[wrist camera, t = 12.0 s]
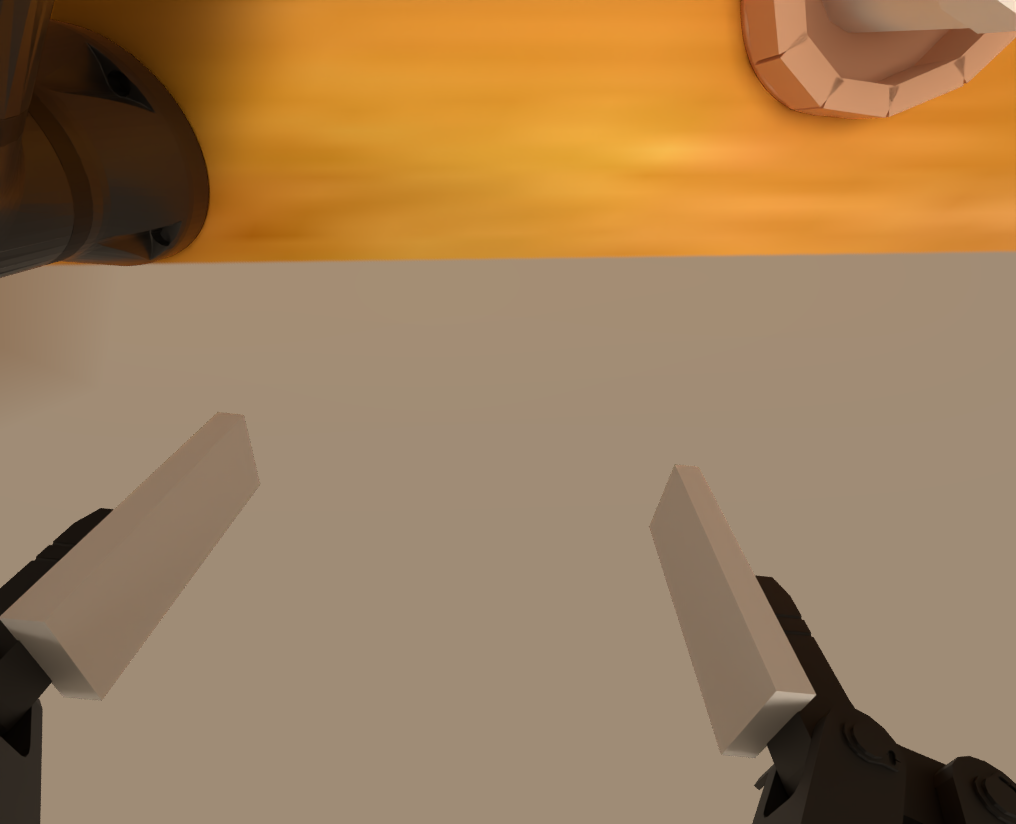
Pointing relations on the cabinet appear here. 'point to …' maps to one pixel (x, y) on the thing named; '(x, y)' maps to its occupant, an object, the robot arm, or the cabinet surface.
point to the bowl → (856, 60)
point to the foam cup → (922, 15)
